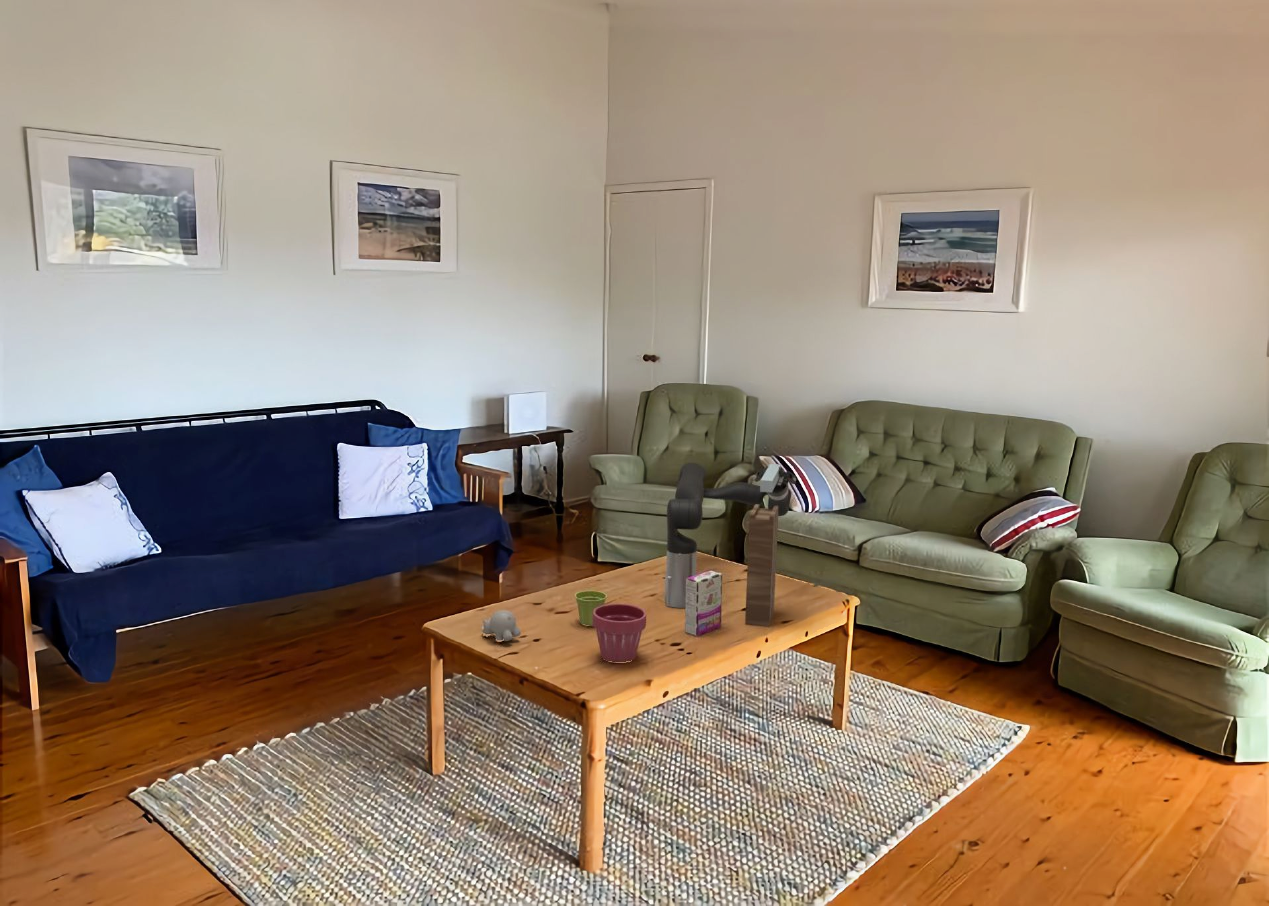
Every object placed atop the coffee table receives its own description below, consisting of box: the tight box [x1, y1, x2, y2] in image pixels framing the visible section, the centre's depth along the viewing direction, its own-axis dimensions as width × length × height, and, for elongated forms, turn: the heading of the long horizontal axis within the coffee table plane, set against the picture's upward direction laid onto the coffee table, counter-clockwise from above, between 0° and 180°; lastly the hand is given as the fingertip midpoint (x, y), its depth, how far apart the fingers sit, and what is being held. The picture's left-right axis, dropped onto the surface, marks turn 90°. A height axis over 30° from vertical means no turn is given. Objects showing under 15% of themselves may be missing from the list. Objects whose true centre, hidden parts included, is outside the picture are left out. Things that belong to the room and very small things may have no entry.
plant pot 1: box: [574, 590, 608, 627], centre depth 279 cm, size 9×9×9 cm
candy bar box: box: [684, 570, 723, 637], centre depth 275 cm, size 11×5×16 cm, turn 136°
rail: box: [759, 463, 782, 492], centre depth 296 cm, size 26×4×4 cm, turn 166°
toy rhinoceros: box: [481, 609, 521, 642], centre depth 266 cm, size 7×12×8 cm, turn 55°
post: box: [744, 504, 779, 628], centre depth 284 cm, size 14×7×33 cm, turn 166°
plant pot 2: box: [592, 603, 647, 662], centre depth 254 cm, size 14×14×13 cm
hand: (773, 469), depth 301 cm, fingers closed on rail, 3 cm apart
